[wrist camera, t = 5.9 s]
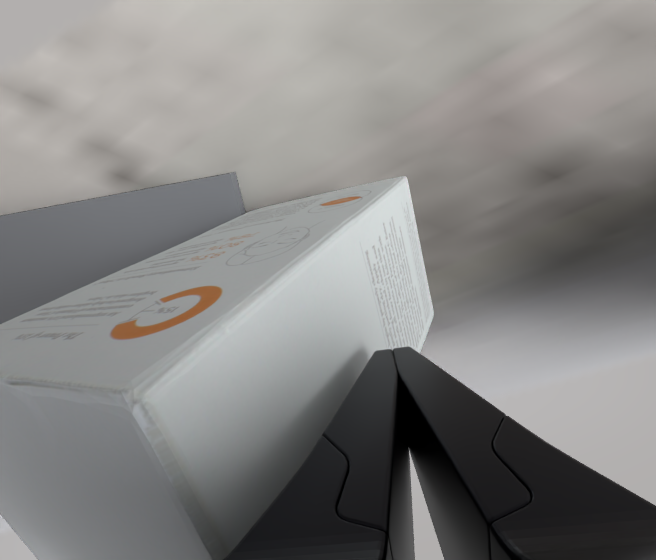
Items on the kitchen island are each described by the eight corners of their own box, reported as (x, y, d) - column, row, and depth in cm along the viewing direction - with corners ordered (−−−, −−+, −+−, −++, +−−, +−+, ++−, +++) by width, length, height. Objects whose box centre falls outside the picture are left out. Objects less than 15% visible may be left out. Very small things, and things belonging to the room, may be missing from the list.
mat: (235, 172, 18) (230, 173, 17) (285, 369, 21) (282, 377, 21) (-41, 223, 20) (-56, 226, 19) (49, 397, 23) (39, 405, 23)
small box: (288, 322, 20) (38, 571, 10) (249, 208, 18) (-118, 367, 8) (440, 316, 17) (297, 721, 6) (412, 171, 14) (117, 390, 4)
